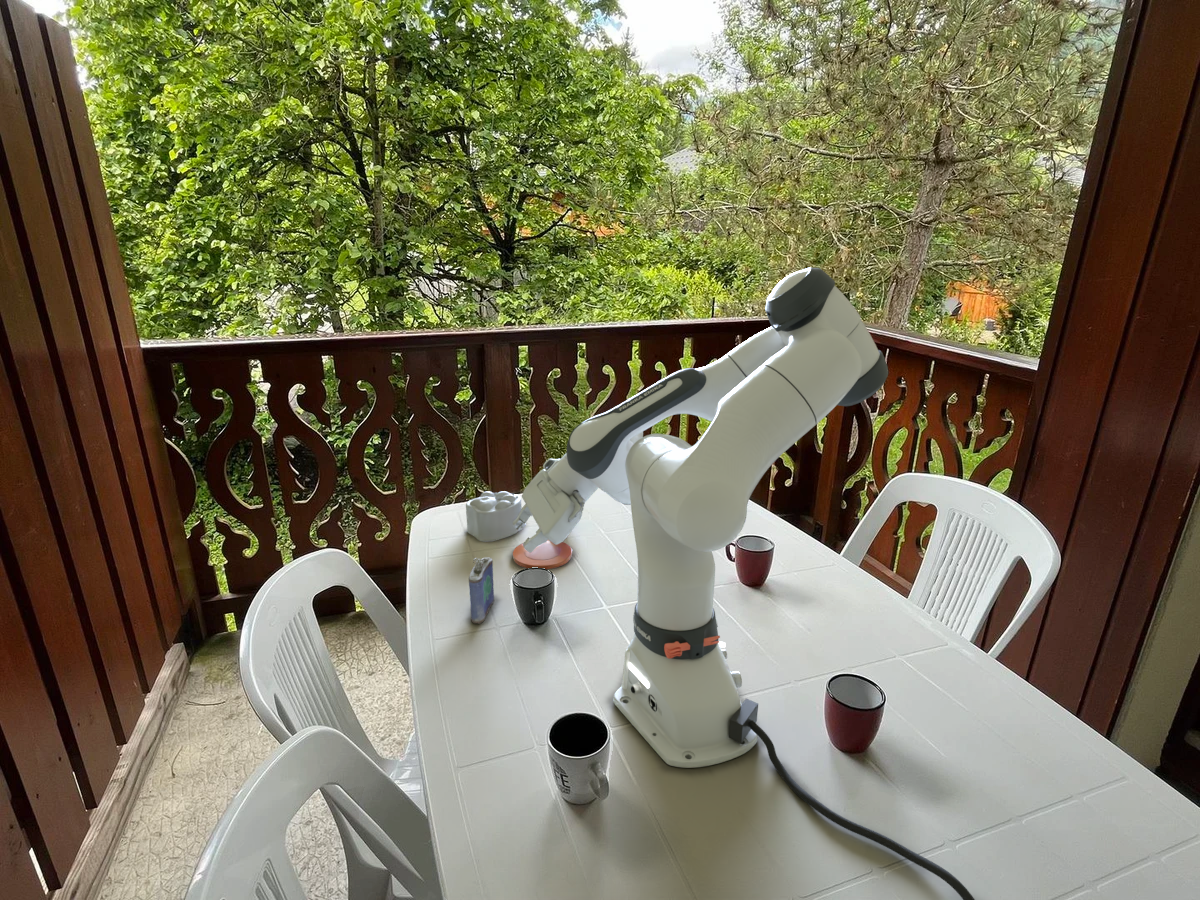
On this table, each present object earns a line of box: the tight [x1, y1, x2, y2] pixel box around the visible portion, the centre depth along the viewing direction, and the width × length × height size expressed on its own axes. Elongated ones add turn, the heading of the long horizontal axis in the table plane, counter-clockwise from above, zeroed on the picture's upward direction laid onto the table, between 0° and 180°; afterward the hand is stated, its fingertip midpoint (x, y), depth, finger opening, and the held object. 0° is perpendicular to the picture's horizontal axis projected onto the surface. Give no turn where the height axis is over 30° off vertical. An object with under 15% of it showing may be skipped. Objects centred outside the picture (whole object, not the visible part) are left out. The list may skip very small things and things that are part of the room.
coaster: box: [512, 539, 573, 570], centre depth 140 cm, size 13×13×1 cm
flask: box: [468, 556, 495, 625], centre depth 118 cm, size 9×3×11 cm, turn 173°
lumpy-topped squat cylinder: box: [465, 490, 523, 543], centre depth 152 cm, size 10×13×9 cm
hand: (520, 538), depth 118 cm, fingers open, 8 cm apart
